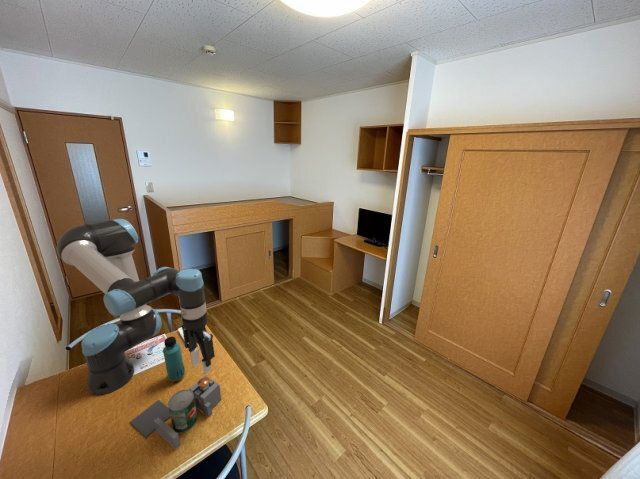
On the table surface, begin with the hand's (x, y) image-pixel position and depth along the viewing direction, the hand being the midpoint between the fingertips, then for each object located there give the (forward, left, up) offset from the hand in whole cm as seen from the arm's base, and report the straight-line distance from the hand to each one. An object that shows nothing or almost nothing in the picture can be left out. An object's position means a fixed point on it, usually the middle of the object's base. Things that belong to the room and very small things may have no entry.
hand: (201, 368), depth 94 cm
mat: (-11, -14, -17) cm, 24 cm away
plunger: (0, 0, -13) cm, 13 cm away
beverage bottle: (-20, +1, -17) cm, 26 cm away
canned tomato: (0, -9, -17) cm, 19 cm away
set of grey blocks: (0, -6, -17) cm, 18 cm away
